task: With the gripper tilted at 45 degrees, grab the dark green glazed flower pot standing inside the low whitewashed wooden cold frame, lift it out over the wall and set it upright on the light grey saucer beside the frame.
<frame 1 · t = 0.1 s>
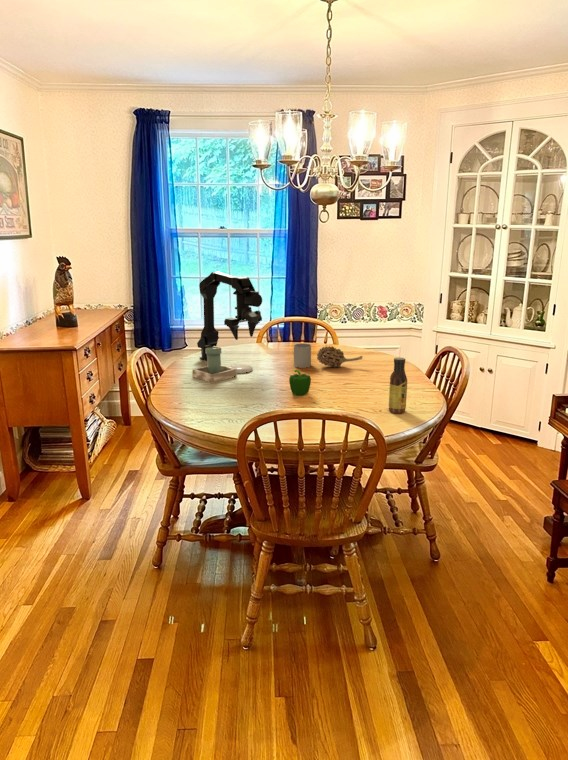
hand: (244, 338, 262), 15 cm above the table, tool pointing down, fingers open, 9 cm apart
cold frame: (214, 376, 253), on the table
pine cone: (339, 367, 267), on the table
sauce bottle: (397, 411, 206), on the table
bell pepper: (300, 394, 227), on the table
cup: (302, 366, 270), on the table
saucer: (239, 370, 263), on the table
flower pot: (214, 362, 251), in the cold frame
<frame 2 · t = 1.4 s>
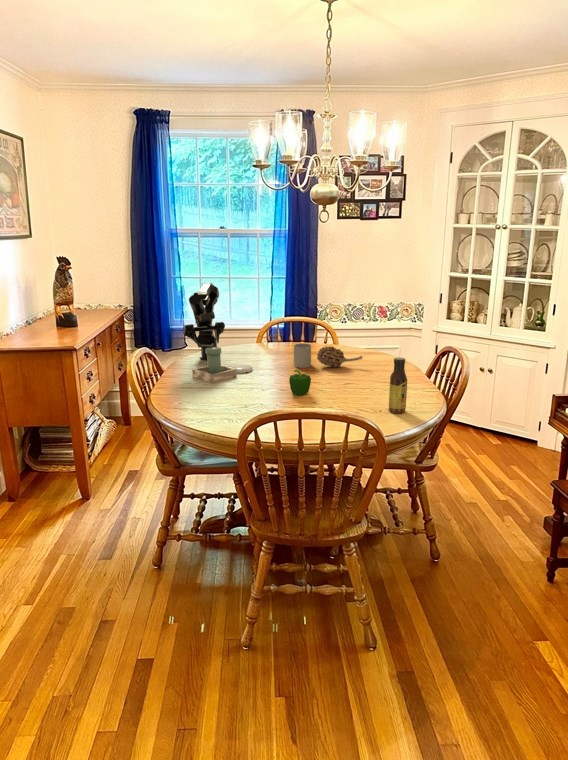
hand: (208, 344, 256), 13 cm above the table, tool tilted 45°, fingers open, 9 cm apart
nothing on the table moved.
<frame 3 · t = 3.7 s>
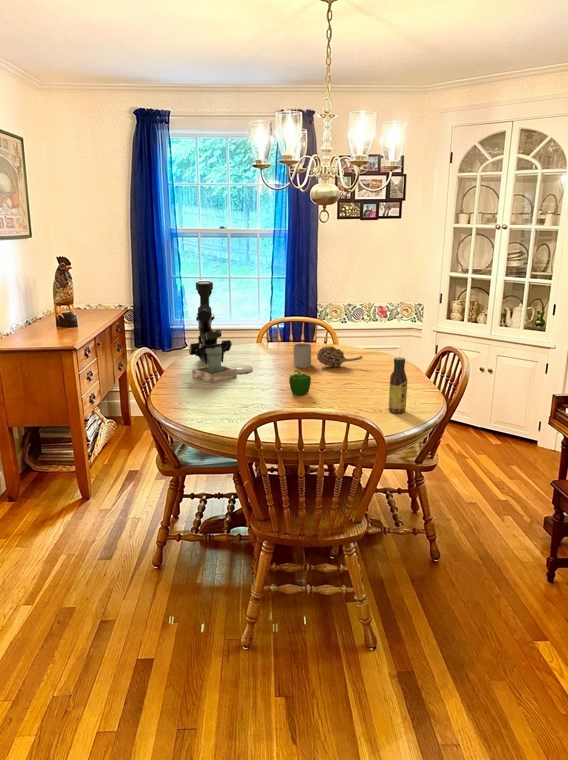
hand: (214, 363, 250), 7 cm above the table, tool tilted 45°, fingers closed on flower pot, 7 cm apart
flower pot: (214, 362, 251), in the cold frame, touching gripper
everything else where it was.
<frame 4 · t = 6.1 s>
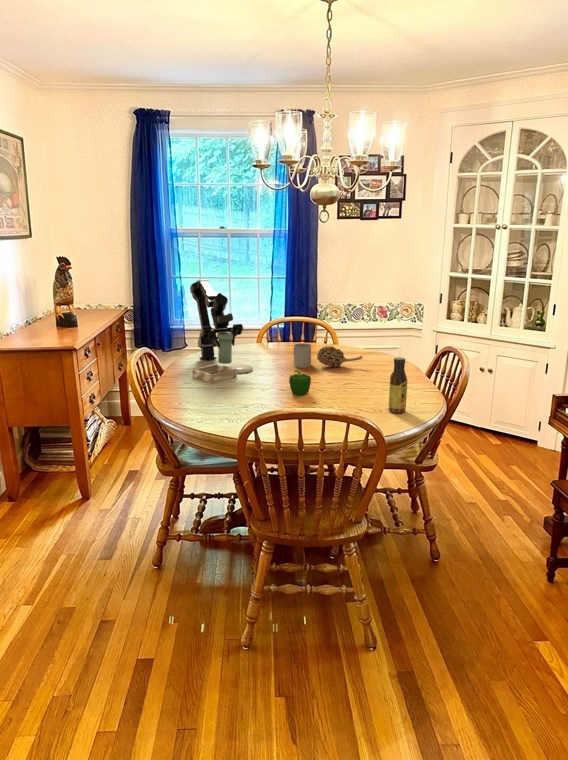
hand: (226, 346, 253), 13 cm above the table, tool tilted 45°, fingers closed on flower pot, 6 cm apart
flower pot: (225, 348, 254), point 12 cm above the table, touching gripper
everything else where it was.
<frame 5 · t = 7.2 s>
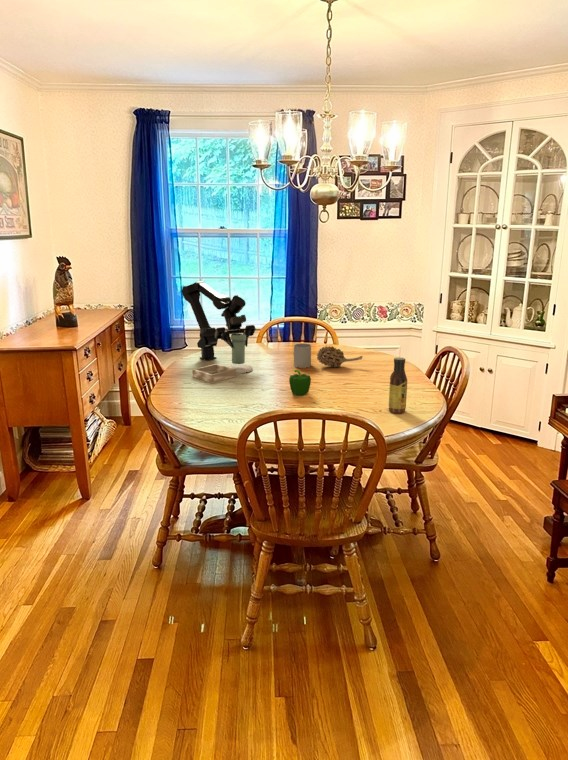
hand: (239, 346, 259), 11 cm above the table, tool tilted 45°, fingers closed on flower pot, 6 cm apart
flower pot: (238, 348, 260), point 10 cm above the table, touching gripper
everything else where it was.
when the fingers open (9 cm above the table, at t = 8.2 s): flower pot stays where it is, resting on saucer.
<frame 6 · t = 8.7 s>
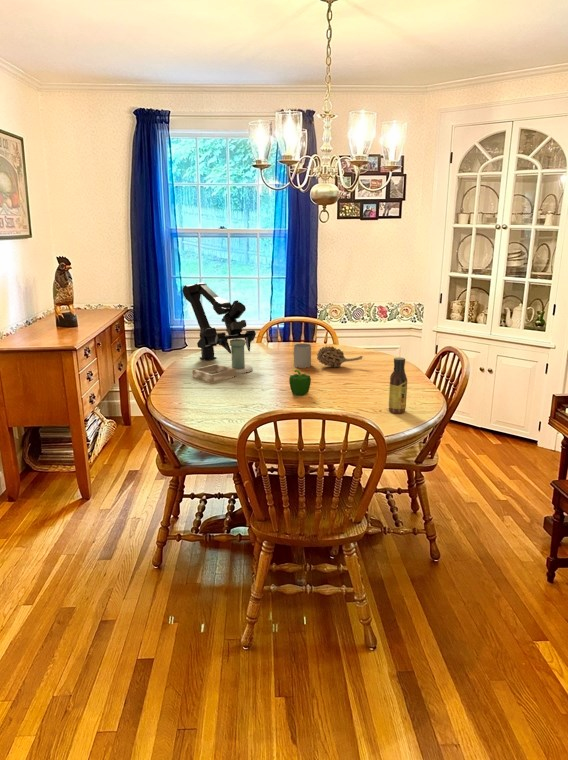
hand: (240, 352, 259), 9 cm above the table, tool tilted 45°, fingers open, 9 cm apart
flower pot: (237, 354, 261), on the saucer, point 8 cm above the table
everything else where it was.
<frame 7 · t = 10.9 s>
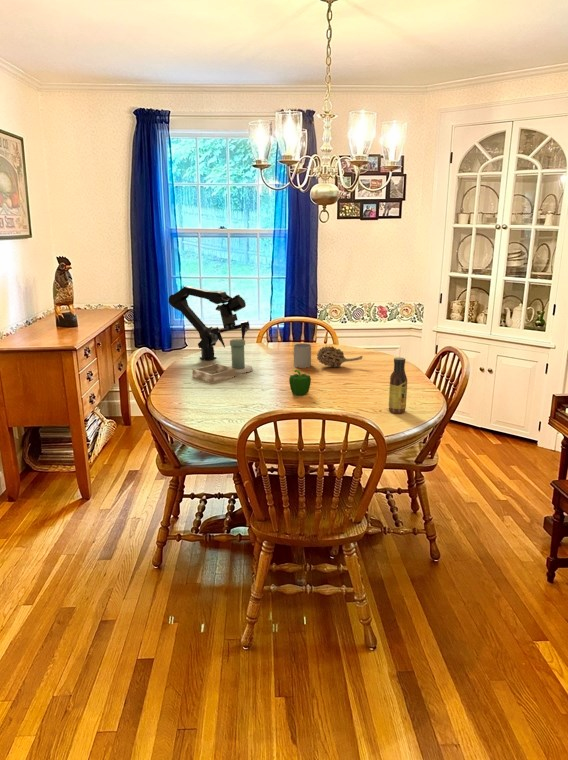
hand: (234, 345, 269), 10 cm above the table, tool tilted 35°, fingers open, 9 cm apart
nothing on the table moved.
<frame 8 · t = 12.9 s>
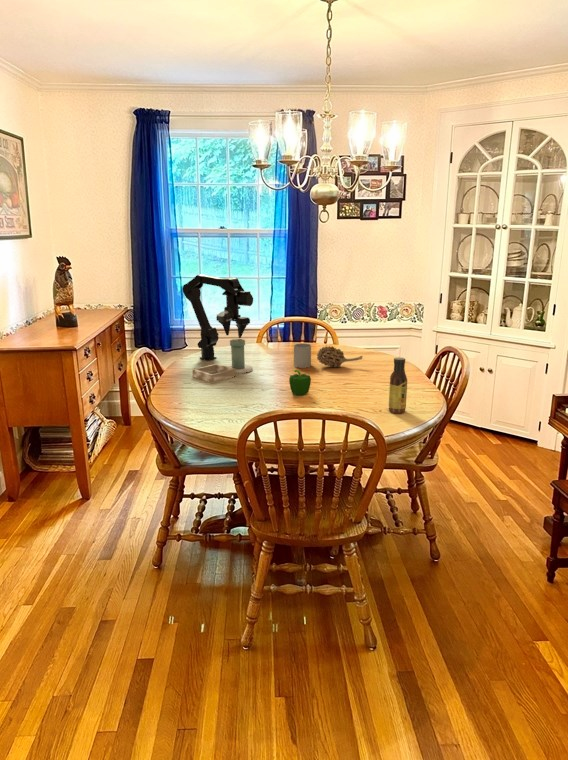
hand: (233, 336, 274), 13 cm above the table, tool pointing down, fingers open, 9 cm apart
nothing on the table moved.
at the end: flower pot 0.6 cm from the saucer (horizontally); flower pot tilted 0°; the gripper is holding nothing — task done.
